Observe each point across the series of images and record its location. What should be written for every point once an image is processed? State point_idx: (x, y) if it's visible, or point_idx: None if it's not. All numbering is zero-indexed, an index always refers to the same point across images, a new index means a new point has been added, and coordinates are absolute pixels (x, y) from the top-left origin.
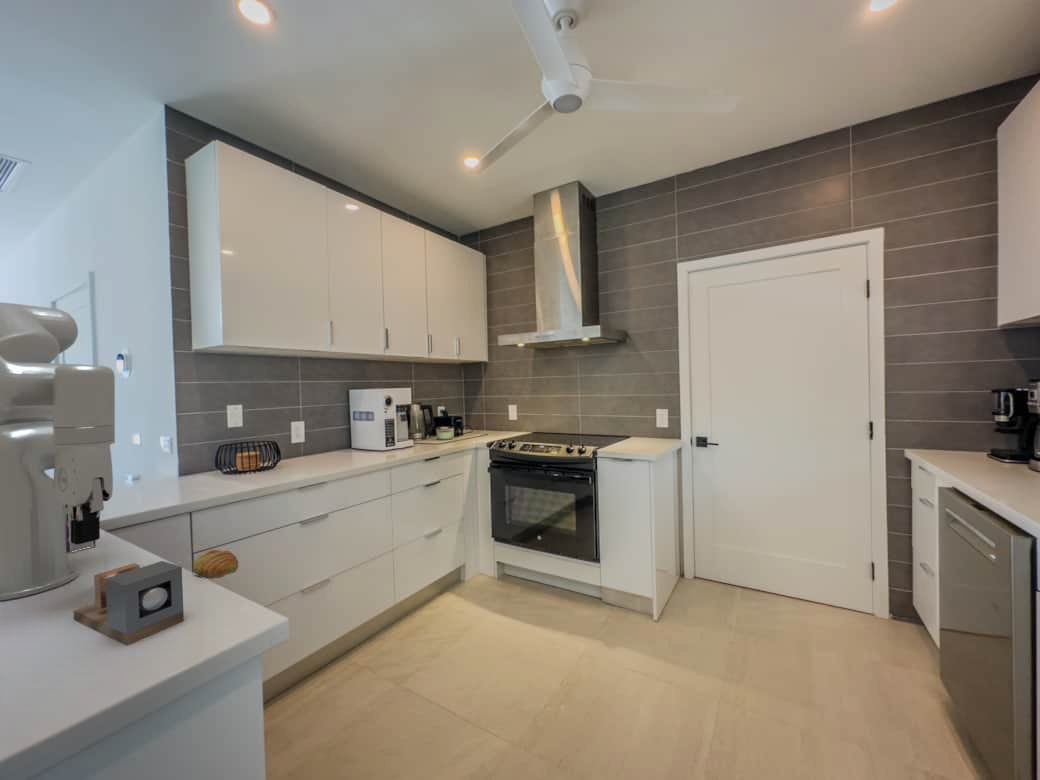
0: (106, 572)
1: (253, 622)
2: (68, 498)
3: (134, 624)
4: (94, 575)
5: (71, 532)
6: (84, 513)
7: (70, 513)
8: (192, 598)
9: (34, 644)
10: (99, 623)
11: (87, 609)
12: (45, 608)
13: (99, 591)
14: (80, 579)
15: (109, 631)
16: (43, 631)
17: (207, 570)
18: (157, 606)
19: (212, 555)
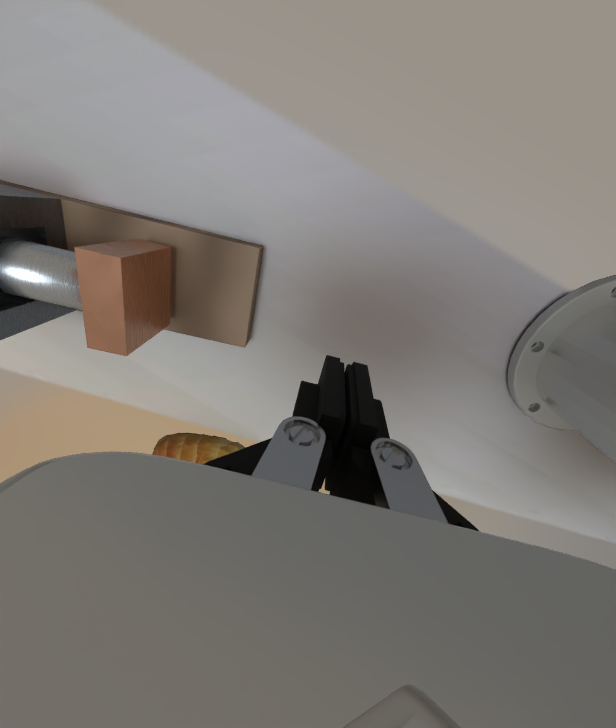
0: (111, 284)
1: None
2: (181, 544)
3: None
4: (117, 257)
5: (363, 386)
6: (249, 463)
7: (417, 472)
8: (116, 363)
9: (203, 128)
10: (108, 210)
11: (225, 256)
12: (409, 276)
13: (113, 244)
14: (496, 399)
15: (58, 196)
16: (265, 184)
17: (185, 443)
18: None
19: None
